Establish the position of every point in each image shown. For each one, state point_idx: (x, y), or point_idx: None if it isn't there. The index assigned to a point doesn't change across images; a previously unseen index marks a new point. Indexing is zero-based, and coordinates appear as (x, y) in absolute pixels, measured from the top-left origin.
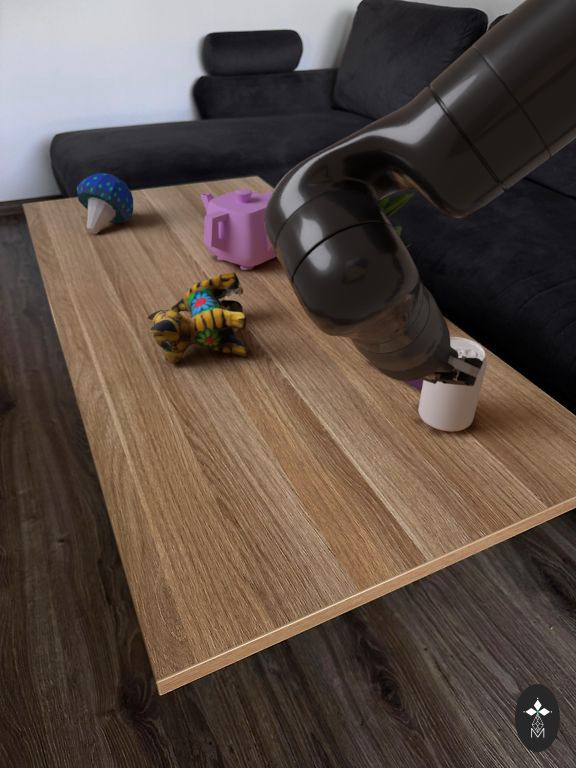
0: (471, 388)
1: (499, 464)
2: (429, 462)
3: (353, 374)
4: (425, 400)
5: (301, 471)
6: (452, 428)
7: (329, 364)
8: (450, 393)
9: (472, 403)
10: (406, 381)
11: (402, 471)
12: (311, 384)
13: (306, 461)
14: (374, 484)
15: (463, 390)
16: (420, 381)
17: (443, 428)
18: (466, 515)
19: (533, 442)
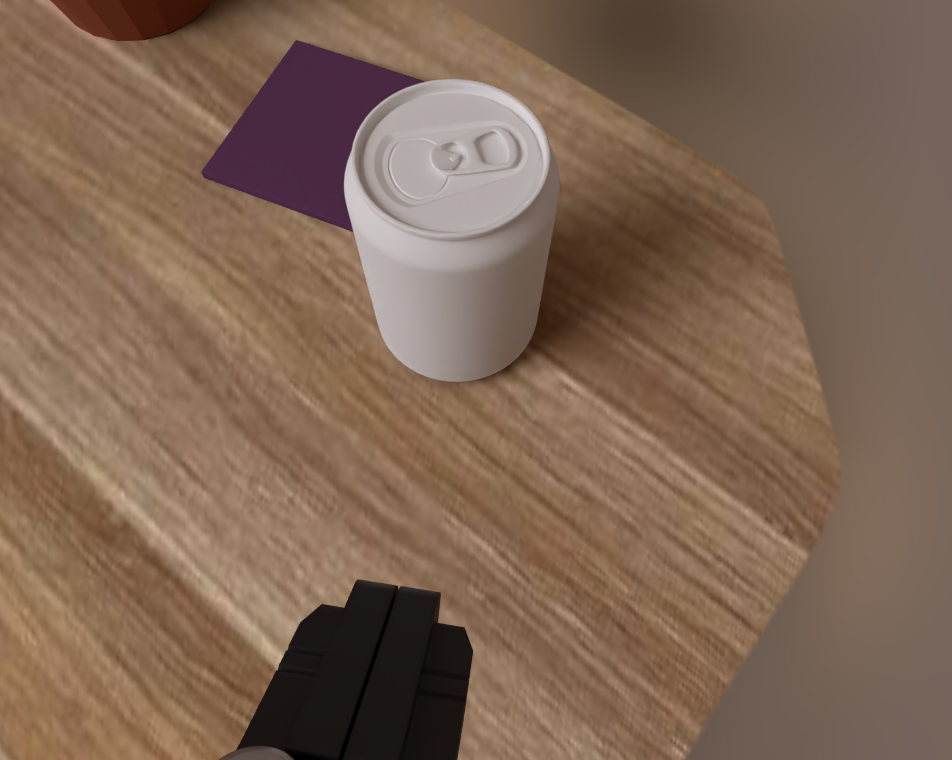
0: (528, 275)
1: (648, 442)
2: (462, 520)
3: (156, 242)
4: (390, 326)
5: (81, 746)
6: (493, 370)
7: (73, 227)
8: (465, 313)
9: (535, 297)
10: (317, 217)
11: None
12: (34, 334)
13: (88, 690)
14: None
15: (505, 294)
16: None
17: (467, 378)
18: (619, 696)
19: (707, 319)
